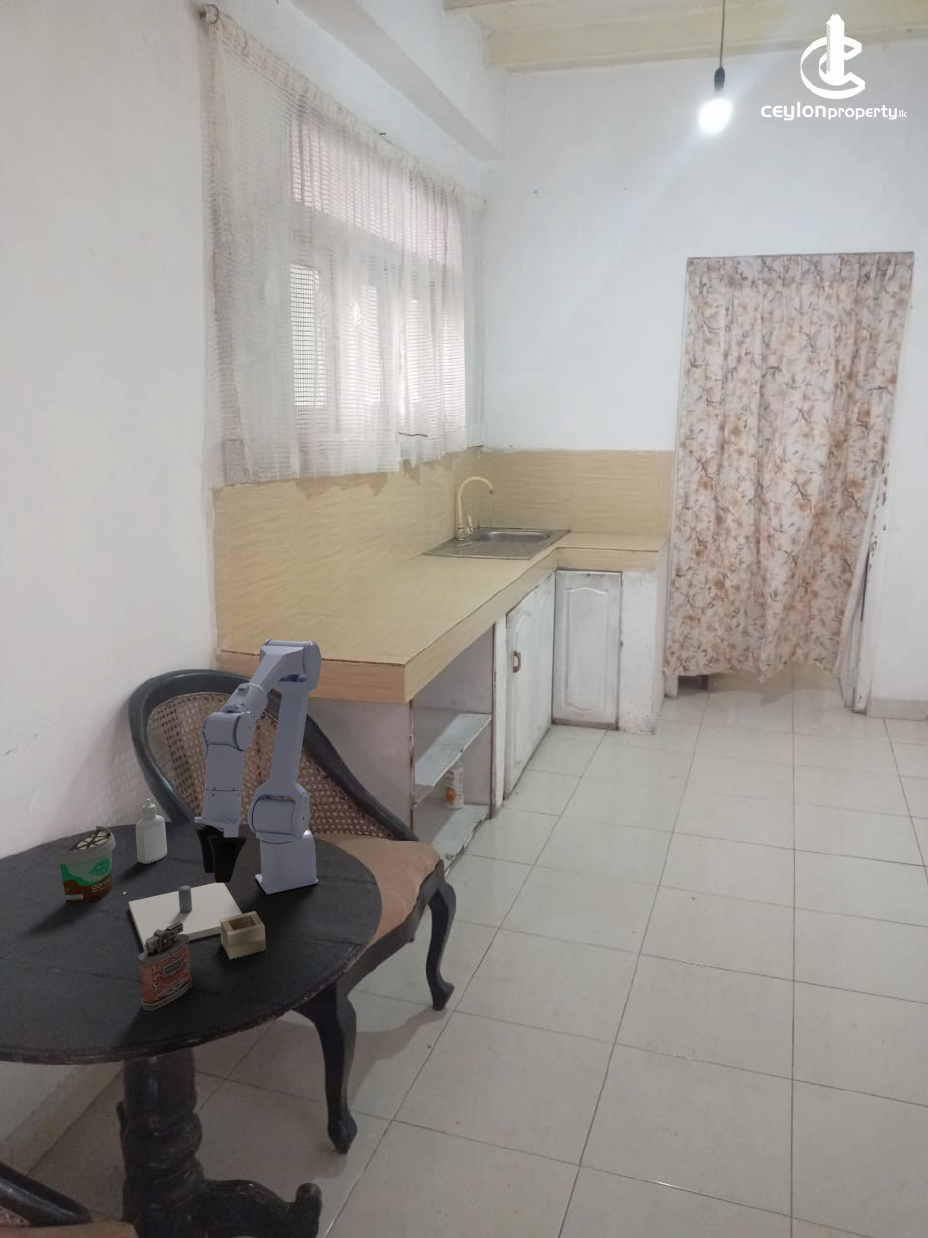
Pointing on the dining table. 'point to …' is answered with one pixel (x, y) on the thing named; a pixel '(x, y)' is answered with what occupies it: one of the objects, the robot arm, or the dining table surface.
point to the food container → (88, 867)
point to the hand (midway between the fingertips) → (217, 877)
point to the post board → (193, 921)
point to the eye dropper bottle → (150, 835)
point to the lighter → (165, 967)
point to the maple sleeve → (242, 934)
